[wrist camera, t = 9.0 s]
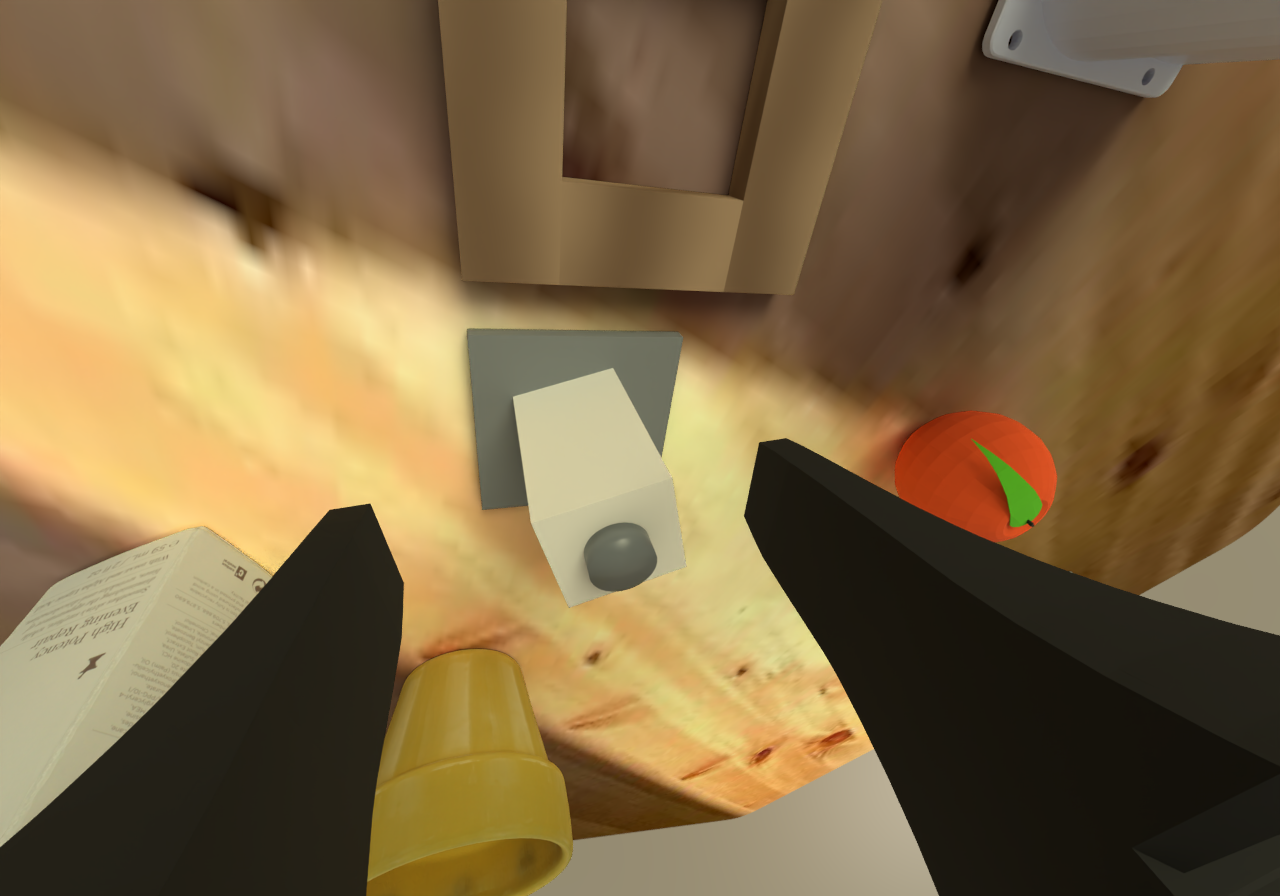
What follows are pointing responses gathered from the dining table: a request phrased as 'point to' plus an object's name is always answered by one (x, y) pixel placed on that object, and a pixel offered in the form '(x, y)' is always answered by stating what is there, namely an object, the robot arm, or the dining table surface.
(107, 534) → the dining table surface
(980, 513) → the clementine
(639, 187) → the holder
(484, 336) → the coaster
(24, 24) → the dining table surface
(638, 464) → the plug
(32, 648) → the skincare box
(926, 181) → the dining table surface
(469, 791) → the plant pot
